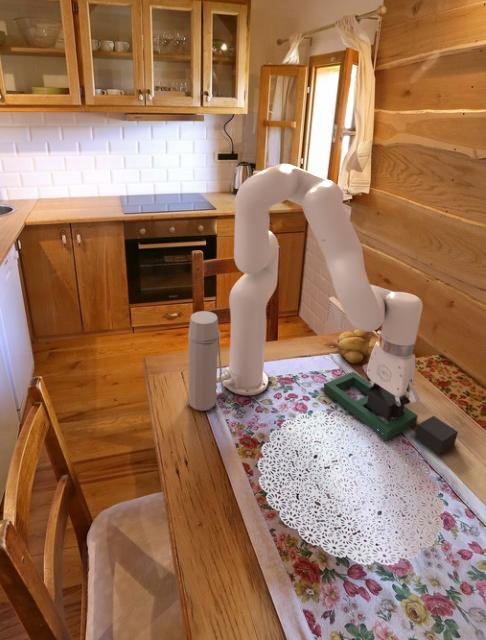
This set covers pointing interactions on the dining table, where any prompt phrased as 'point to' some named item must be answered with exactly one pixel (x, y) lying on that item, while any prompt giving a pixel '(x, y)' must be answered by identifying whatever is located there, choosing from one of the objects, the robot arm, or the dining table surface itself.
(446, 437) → the pad
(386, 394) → the pad
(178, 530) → the dining table surface
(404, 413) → the green rectangular frame
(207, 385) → the water bottle
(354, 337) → the bread roll
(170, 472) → the dining table surface
